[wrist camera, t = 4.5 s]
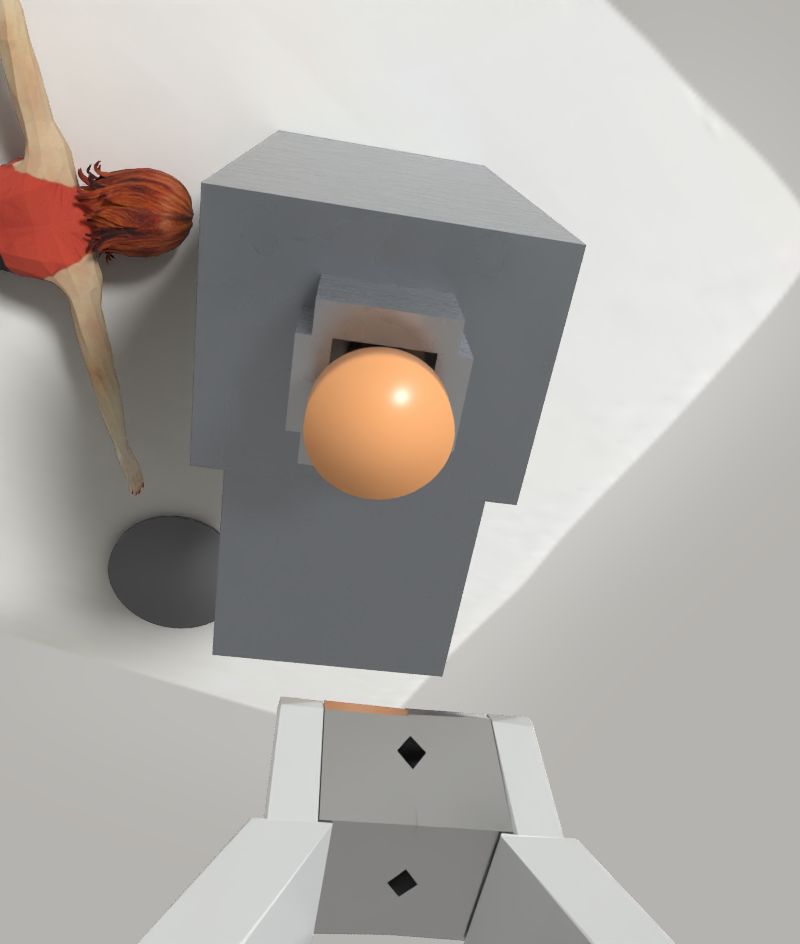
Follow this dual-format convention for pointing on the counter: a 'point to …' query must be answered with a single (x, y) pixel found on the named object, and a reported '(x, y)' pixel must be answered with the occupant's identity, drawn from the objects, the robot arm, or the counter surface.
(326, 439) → the plunger
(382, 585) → the housing
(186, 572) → the pad
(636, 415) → the counter surface
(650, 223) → the counter surface
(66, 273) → the figurine
